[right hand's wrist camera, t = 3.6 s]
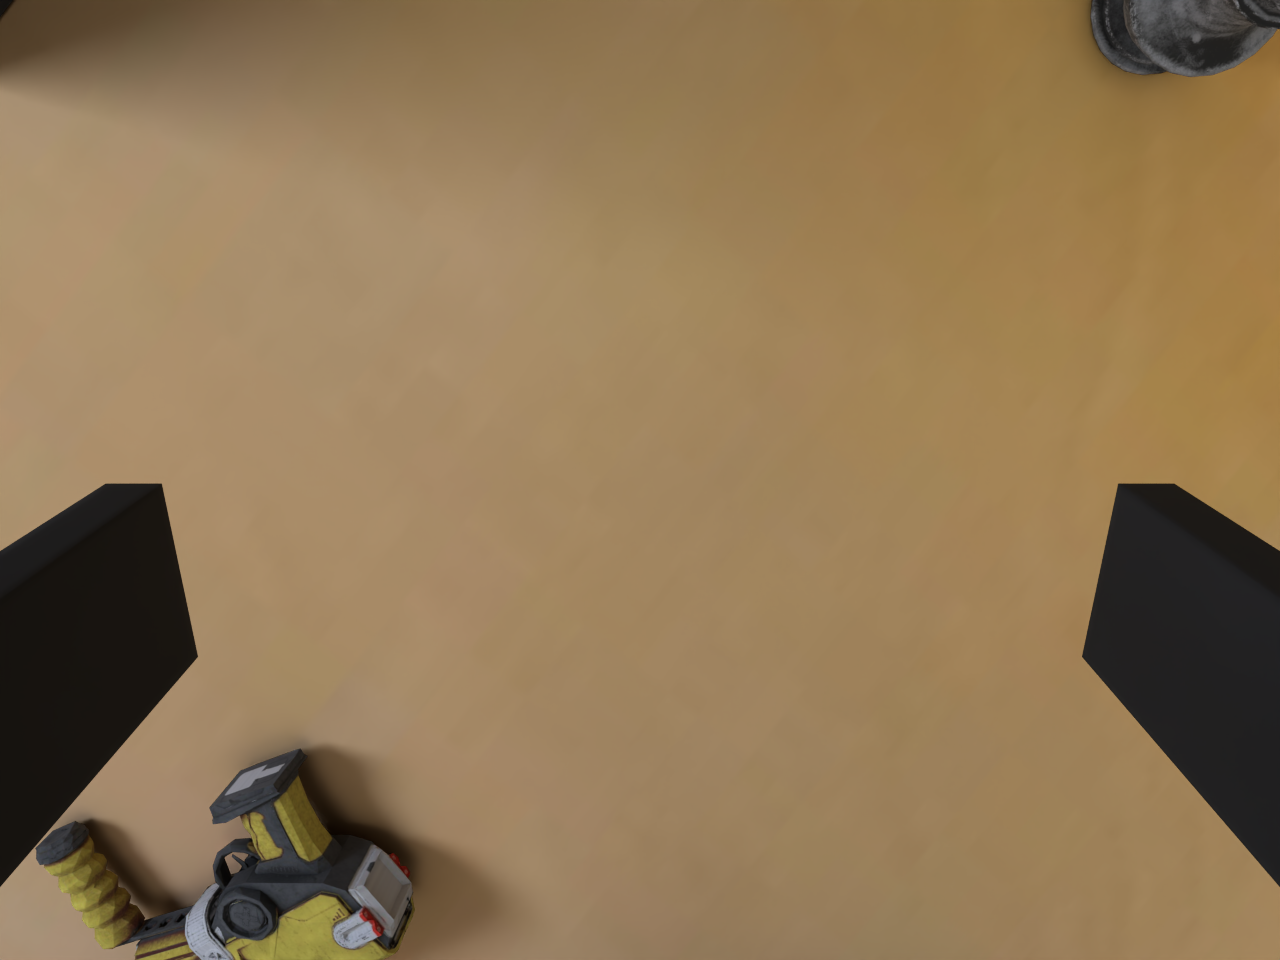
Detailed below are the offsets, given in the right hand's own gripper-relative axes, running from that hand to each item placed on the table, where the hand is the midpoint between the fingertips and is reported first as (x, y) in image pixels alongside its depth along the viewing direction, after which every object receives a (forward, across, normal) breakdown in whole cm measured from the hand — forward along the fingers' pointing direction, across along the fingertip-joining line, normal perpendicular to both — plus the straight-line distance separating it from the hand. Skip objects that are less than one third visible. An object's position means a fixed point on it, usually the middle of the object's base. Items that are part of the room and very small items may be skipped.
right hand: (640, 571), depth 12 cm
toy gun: (+28, +26, +34) cm, 51 cm away
